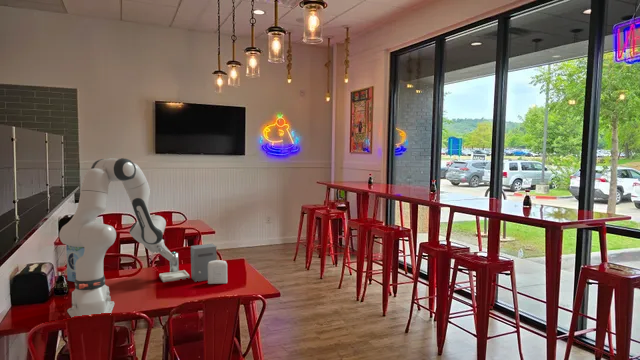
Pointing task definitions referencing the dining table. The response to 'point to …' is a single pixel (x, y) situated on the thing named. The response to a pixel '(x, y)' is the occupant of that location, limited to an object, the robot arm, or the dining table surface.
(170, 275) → the tray
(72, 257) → the gum box
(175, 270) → the cartridge
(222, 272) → the photo printer
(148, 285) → the dining table surface
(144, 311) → the dining table surface
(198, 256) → the box
